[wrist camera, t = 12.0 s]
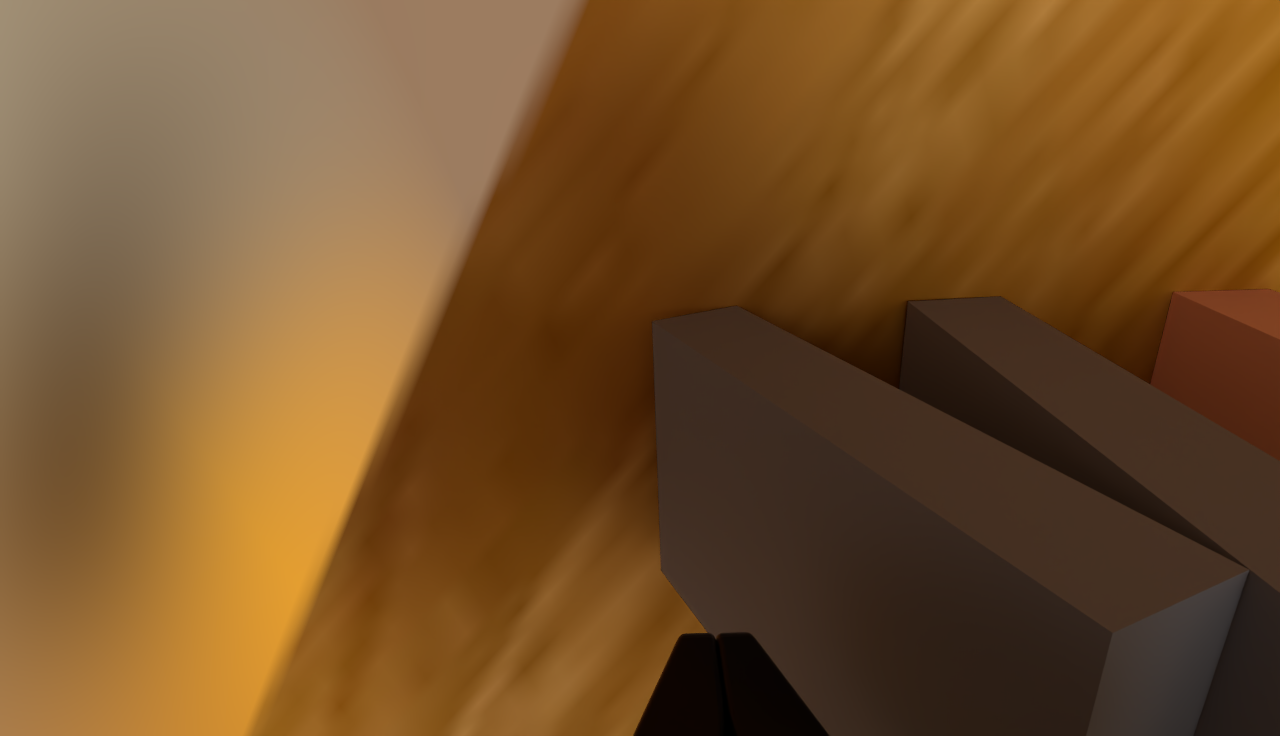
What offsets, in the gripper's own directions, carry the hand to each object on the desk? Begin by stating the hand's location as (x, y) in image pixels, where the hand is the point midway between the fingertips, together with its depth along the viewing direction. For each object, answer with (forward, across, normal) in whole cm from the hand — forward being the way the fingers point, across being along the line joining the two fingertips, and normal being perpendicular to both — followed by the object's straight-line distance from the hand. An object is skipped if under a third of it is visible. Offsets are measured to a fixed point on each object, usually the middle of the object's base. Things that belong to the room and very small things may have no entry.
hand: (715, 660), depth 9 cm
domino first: (+5, 0, 0) cm, 5 cm away
